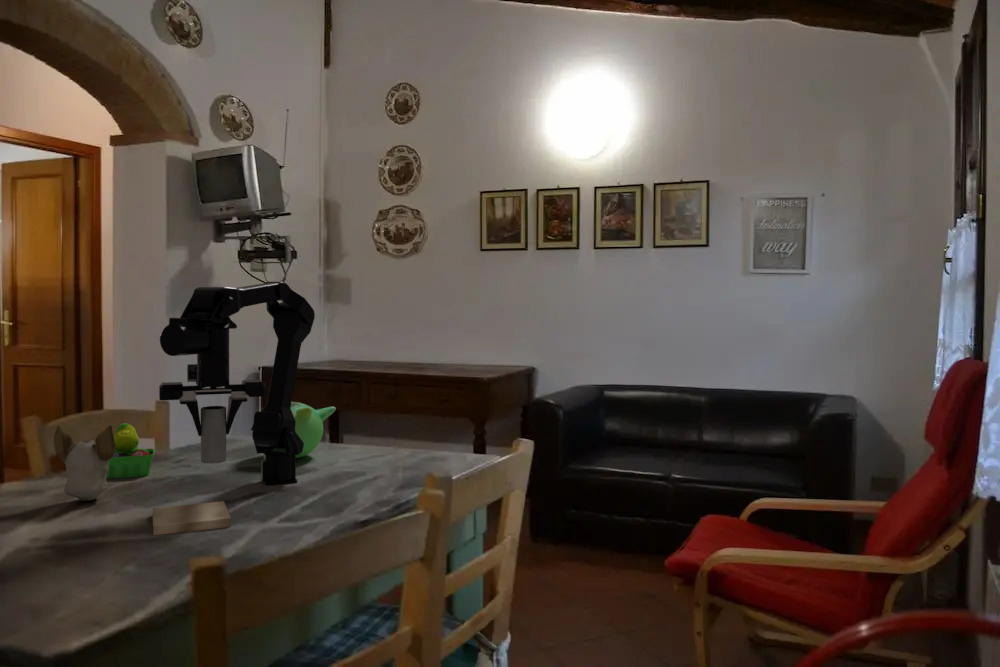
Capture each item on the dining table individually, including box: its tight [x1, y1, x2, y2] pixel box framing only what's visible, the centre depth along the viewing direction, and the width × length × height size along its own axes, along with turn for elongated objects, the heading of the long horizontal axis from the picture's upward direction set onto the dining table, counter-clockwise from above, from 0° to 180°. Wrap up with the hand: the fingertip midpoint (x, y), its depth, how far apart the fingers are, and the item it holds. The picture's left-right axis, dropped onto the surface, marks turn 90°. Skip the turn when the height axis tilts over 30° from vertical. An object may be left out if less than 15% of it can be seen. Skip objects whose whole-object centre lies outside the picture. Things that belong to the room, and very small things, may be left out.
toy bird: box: [291, 401, 337, 459], centre depth 184 cm, size 18×17×15 cm
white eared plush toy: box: [53, 424, 116, 502], centre depth 142 cm, size 11×9×15 cm
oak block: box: [151, 500, 232, 536], centre depth 130 cm, size 12×12×2 cm
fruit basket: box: [106, 422, 156, 479], centre depth 164 cm, size 11×9×11 cm
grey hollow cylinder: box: [200, 405, 227, 464], centre depth 142 cm, size 4×4×10 cm
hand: (213, 434), depth 142 cm, fingers closed on grey hollow cylinder, 4 cm apart
